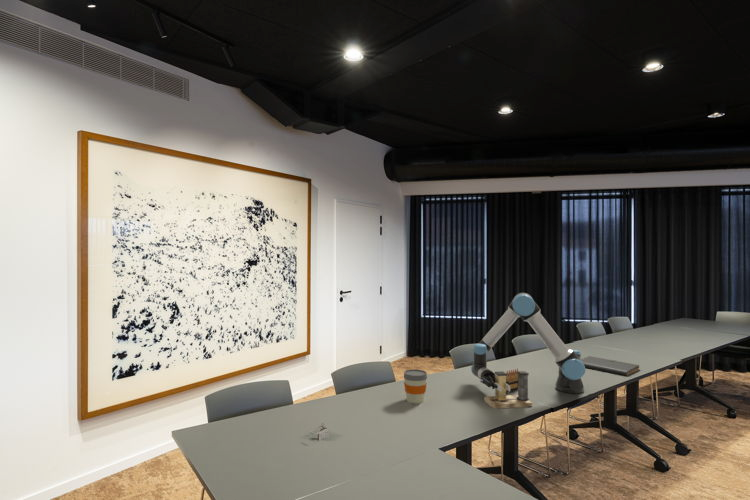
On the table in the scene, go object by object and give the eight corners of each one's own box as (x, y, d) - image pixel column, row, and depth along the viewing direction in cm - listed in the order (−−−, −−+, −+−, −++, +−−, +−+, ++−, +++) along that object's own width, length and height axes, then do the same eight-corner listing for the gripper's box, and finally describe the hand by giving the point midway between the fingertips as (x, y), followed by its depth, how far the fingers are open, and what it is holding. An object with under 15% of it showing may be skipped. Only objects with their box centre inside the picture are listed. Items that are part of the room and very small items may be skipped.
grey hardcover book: (639, 364, 287) (626, 371, 271) (639, 370, 287) (626, 377, 271) (589, 355, 312) (574, 361, 297) (589, 361, 312) (575, 367, 297)
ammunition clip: (507, 392, 239) (507, 371, 239) (504, 391, 241) (504, 370, 241) (519, 389, 245) (519, 368, 245) (517, 388, 247) (517, 367, 247)
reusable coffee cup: (426, 405, 218) (426, 376, 218) (402, 403, 221) (402, 375, 221) (427, 397, 230) (427, 370, 231) (405, 395, 233) (405, 368, 233)
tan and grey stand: (522, 398, 229) (522, 368, 229) (534, 406, 217) (534, 375, 217) (484, 400, 226) (484, 370, 226) (493, 408, 214) (493, 376, 214)
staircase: (321, 435, 183) (321, 422, 183) (327, 437, 180) (327, 425, 180) (310, 440, 178) (310, 427, 178) (316, 443, 175) (316, 429, 175)
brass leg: (502, 397, 223) (502, 371, 224) (506, 400, 219) (506, 373, 219) (494, 398, 223) (494, 371, 223) (498, 401, 218) (498, 374, 218)
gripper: (500, 381, 240) (520, 395, 217) (472, 383, 237) (489, 397, 214) (500, 368, 240) (520, 381, 217) (472, 369, 238) (489, 382, 214)
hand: (505, 388), depth 216 cm, fingers closed on brass leg, 4 cm apart
